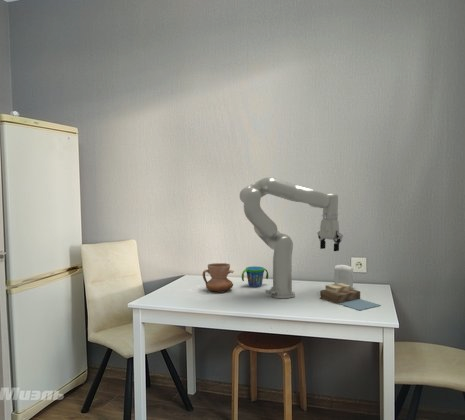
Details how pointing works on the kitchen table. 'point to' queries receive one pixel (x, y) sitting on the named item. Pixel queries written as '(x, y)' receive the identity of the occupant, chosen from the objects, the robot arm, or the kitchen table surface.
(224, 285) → the ceramic jug
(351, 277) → the white upright block
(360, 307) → the slate mat
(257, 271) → the snack cup
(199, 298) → the kitchen table surface
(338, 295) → the block
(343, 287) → the birch tile
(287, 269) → the robot arm
